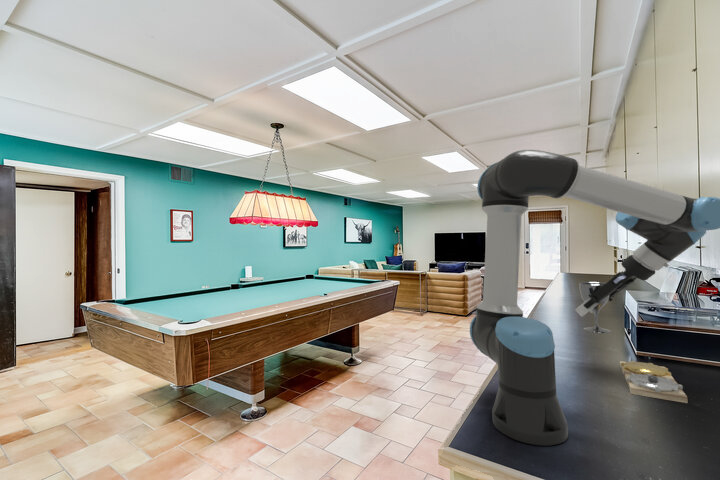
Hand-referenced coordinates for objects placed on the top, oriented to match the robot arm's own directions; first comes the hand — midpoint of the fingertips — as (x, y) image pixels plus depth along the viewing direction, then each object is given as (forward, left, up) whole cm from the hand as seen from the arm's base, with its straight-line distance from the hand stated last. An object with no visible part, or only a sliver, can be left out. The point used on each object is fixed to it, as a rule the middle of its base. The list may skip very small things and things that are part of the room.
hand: (583, 311), depth 106 cm
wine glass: (-1, -3, -6) cm, 7 cm away
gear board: (-4, -15, -19) cm, 24 cm away
